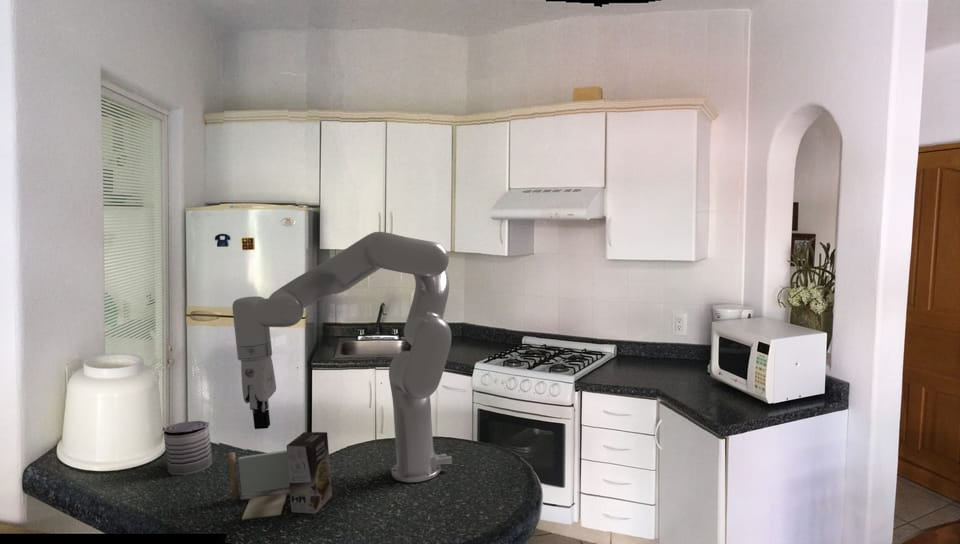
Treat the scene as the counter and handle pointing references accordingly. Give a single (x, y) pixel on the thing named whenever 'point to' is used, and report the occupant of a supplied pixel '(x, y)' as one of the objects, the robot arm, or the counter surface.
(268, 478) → the door
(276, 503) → the board
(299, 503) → the coffee box
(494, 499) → the counter surface
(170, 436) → the can
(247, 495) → the frame
